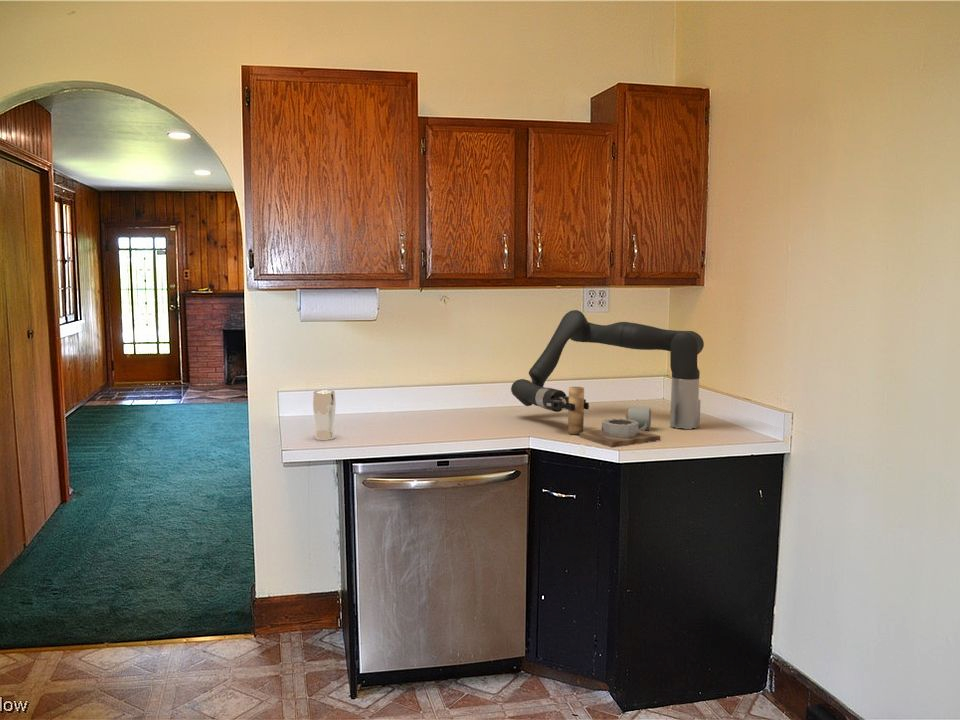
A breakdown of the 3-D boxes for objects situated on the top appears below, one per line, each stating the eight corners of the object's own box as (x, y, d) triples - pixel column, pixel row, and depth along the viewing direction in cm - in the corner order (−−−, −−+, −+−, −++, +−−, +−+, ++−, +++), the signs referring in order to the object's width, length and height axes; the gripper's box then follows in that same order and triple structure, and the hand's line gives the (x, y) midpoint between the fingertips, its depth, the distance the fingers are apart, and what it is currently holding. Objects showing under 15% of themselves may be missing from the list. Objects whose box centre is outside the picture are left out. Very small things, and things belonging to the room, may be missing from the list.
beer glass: (315, 436, 256) (314, 390, 254) (337, 435, 256) (336, 390, 254) (312, 440, 249) (311, 393, 247) (334, 440, 249) (334, 393, 248)
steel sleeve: (621, 429, 262) (622, 417, 262) (644, 435, 253) (645, 423, 252) (595, 432, 257) (595, 420, 256) (617, 439, 247) (618, 426, 247)
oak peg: (577, 430, 265) (578, 386, 263) (586, 433, 261) (587, 388, 259) (565, 431, 263) (565, 387, 261) (574, 434, 258) (575, 389, 257)
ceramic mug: (626, 426, 275) (627, 404, 274) (650, 427, 273) (651, 405, 272) (624, 432, 265) (625, 410, 264) (649, 434, 263) (650, 411, 262)
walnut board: (627, 431, 267) (627, 426, 267) (660, 440, 253) (660, 435, 253) (579, 437, 257) (579, 432, 257) (611, 447, 243) (611, 442, 243)
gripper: (533, 390, 269) (563, 397, 254) (567, 386, 276) (598, 393, 262) (533, 411, 270) (563, 420, 255) (567, 408, 277) (598, 416, 263)
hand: (581, 406), depth 259 cm, fingers closed on oak peg, 5 cm apart
